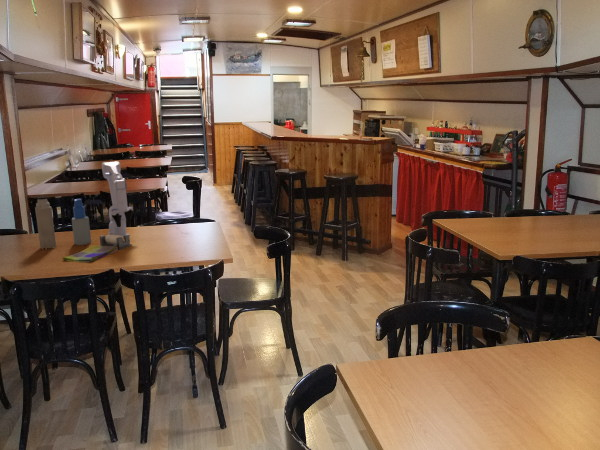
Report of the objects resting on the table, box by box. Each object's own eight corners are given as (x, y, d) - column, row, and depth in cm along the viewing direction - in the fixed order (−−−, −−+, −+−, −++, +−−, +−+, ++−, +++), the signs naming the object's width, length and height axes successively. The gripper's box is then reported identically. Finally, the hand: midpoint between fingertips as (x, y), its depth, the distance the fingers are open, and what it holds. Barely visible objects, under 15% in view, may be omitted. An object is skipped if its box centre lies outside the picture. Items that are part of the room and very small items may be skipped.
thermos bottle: (47, 245, 313) (41, 195, 306) (59, 245, 310) (53, 195, 304) (37, 248, 305) (30, 198, 299) (48, 249, 303) (42, 198, 296)
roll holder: (98, 247, 305) (97, 236, 304) (111, 243, 314) (110, 232, 312) (119, 249, 299) (118, 238, 298) (132, 245, 308) (131, 234, 306)
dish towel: (61, 261, 282) (60, 256, 281) (92, 249, 304) (91, 244, 304) (90, 264, 276) (89, 258, 276) (120, 250, 299) (119, 245, 298)
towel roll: (102, 243, 307) (102, 234, 306) (109, 242, 311) (108, 233, 310) (121, 246, 301) (120, 236, 300) (127, 244, 306) (127, 235, 305)
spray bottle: (82, 240, 321) (78, 197, 316) (94, 241, 317) (90, 198, 312) (70, 244, 313) (65, 200, 308) (82, 245, 310) (77, 201, 304)
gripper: (117, 204, 303) (120, 228, 306) (136, 199, 316) (138, 223, 319) (107, 203, 306) (110, 227, 309) (126, 198, 319) (128, 222, 322)
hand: (123, 225), depth 314 cm, fingers open, 7 cm apart
